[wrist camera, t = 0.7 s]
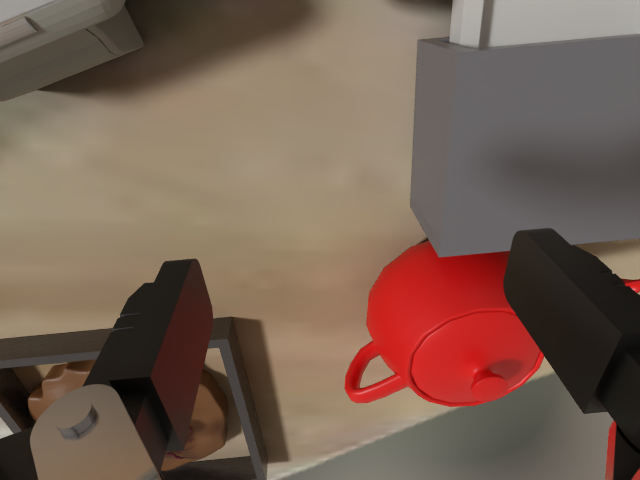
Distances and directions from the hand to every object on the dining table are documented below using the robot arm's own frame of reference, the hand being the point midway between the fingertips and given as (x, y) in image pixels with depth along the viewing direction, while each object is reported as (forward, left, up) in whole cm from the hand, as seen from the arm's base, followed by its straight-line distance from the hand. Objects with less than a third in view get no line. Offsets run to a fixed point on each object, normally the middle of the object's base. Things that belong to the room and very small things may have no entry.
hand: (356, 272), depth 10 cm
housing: (+3, +16, -22) cm, 28 cm away
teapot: (+19, +11, -23) cm, 32 cm away
